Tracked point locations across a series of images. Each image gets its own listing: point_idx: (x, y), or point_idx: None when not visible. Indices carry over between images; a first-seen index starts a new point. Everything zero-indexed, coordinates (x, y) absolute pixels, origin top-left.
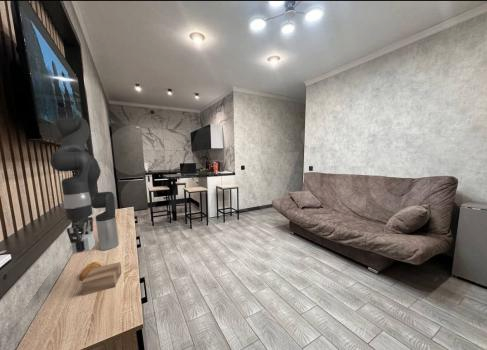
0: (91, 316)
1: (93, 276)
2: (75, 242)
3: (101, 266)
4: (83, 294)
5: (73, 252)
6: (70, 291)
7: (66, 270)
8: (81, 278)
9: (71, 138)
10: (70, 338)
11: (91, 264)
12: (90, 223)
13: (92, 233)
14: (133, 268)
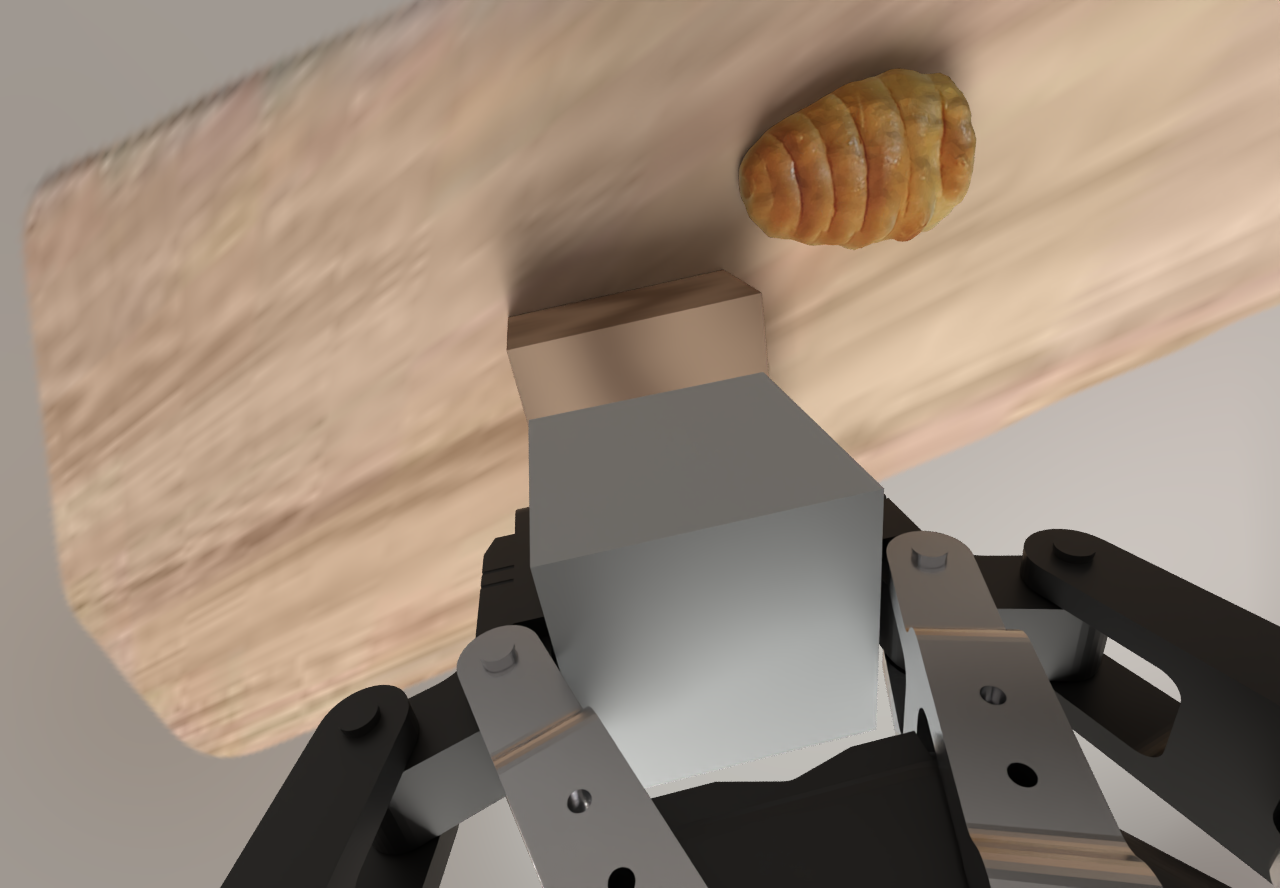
0: (274, 518)
1: (592, 399)
2: (447, 689)
3: (765, 368)
4: (508, 321)
5: (532, 439)
6: (595, 149)
7: None
8: (757, 147)
9: None
10: (102, 507)
11: (938, 153)
12: (1231, 833)
13: (867, 721)
14: None
